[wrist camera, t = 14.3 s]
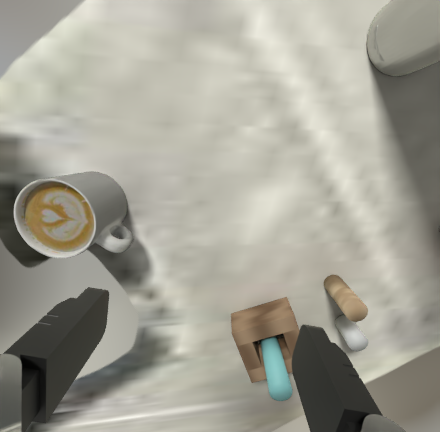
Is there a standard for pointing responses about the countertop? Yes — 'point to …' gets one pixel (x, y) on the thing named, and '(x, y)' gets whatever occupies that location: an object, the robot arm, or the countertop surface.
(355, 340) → the grey pin
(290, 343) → the walnut block
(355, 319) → the beech pin
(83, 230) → the coffee mug
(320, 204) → the countertop surface
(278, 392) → the teal pin
